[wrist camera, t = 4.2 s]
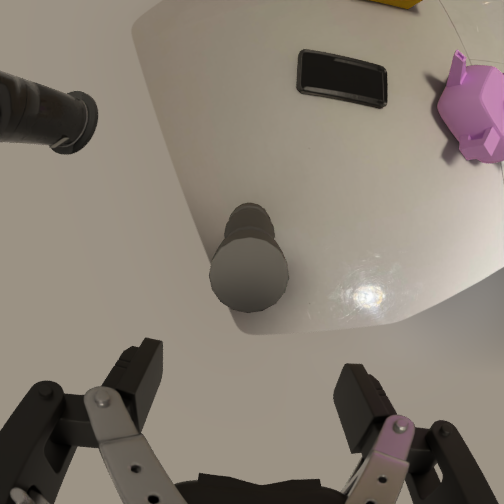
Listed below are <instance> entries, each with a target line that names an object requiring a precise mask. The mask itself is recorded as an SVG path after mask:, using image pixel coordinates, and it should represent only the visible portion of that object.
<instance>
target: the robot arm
mask: <svg viewBox="0 0 504 504" xmlns="http://www.w3.org/2000/svg"><path fill="white" fill-rule="evenodd" d="M88 120H89V111H88V107H87V105H86V103H85V102H84V101H83V100H82V99H80V98H77V97H73V96H71V95H68V94H65V93H63V92H60V91H57V90H55V89H52V88H49V87H46V86H44V85H41V84H38V83H35V82H32V81H28V80H26V79H23V78H20V77H17V76H14V75H11V74H8V73H5V72H2V71H0V142H10V143H28V144H42V145H51V147H50V148H55V147H57V146H58V147H69V146H71V145H73V144H75V143H76V142H77V141H78V140H79V139H80V138H81V137H82V135H83V134H84V132H85V130H86V128H87V125H88ZM162 372H163V342H162V341H160V340H155V339H150V338H145V339H144V340H143V342H142V344H141V345H140V347H134V346H132V347H130V348H128V349H127V350H125V351H124V352H123V353H122V354H121V356H120V358H119V360H118V361H117V362H116V364H115V366H114V367H113V368H112V370H111V371H110V373H109V375H108V376H107V378H106V379H105V381H104V383H103V384H102V386H100V387H94V388H92V389H90V390H88V391H87V392H86V394H85V395H74V394H64V392H63V389H62V387H61V386H60V385H59V384H57V383H55V382H52V381H41V382H38V383H36V384H34V385H33V386H32V387H31V389H30V390H29V391H28V393H27V394H26V395H25V397H24V398H23V400H22V401H21V402H20V404H19V405H18V406H17V408H16V409H15V411H14V412H13V414H12V415H11V416H10V418H9V419H8V421H7V422H6V423H5V425H4V427H3V428H2V429H1V431H0V504H54V502H55V499H56V497H57V494H58V492H59V489H60V487H61V484H62V482H63V479H64V477H65V474H66V472H67V469H68V467H69V465H70V462H71V460H72V458H73V455H74V453H75V451H76V448H77V446H80V447H91V448H99V451H100V453H101V456H102V458H103V461H104V463H105V465H106V468H107V470H108V472H109V475H110V477H111V479H112V481H113V483H114V485H115V488H116V490H117V492H118V494H119V496H120V498H121V500H122V502H123V504H395V503H396V501H397V498H398V496H399V493H400V491H401V488H402V485H403V483H404V480H405V481H406V484H407V486H408V490H409V492H410V495H411V498H412V501H413V504H498V502H497V500H496V498H495V496H494V494H493V492H492V490H491V488H490V486H489V485H488V482H487V481H486V479H485V477H484V475H483V473H482V471H481V470H480V468H479V466H478V464H477V462H476V461H475V459H474V457H473V455H472V454H471V452H470V451H469V448H468V447H467V445H466V444H465V442H464V440H463V438H462V437H461V435H460V433H459V432H458V430H457V429H456V427H455V426H454V425H453V424H451V423H450V422H447V421H443V420H439V421H436V422H434V424H433V425H432V426H431V428H430V429H425V428H416V427H415V426H414V423H413V422H412V421H411V420H410V419H409V418H407V417H405V416H402V415H397V413H396V411H395V409H394V408H393V406H392V404H391V403H390V400H389V399H388V397H387V396H386V393H385V392H384V390H383V388H382V386H381V385H380V383H379V381H378V380H377V379H376V378H374V377H373V376H372V375H370V374H368V373H367V372H366V370H365V368H364V366H363V365H362V364H348V363H347V364H345V365H344V367H343V369H342V372H341V374H340V377H339V379H338V382H337V384H336V387H335V390H334V394H333V396H334V397H333V399H334V404H335V406H336V409H337V412H338V415H339V418H340V421H341V424H342V427H343V430H344V432H345V436H346V439H347V442H348V445H349V448H350V451H351V453H352V454H353V453H362V458H361V459H360V461H359V462H358V464H357V466H356V468H355V469H354V471H353V473H352V475H351V476H350V478H349V480H348V482H347V483H346V485H345V487H344V488H343V489H342V491H341V492H339V491H337V490H334V489H331V488H327V487H322V486H321V484H320V479H307V480H288V481H283V482H278V483H273V484H267V485H257V484H253V483H250V482H246V481H242V480H239V479H235V478H232V477H226V476H217V475H210V474H203V473H199V477H198V480H193V481H186V482H180V483H176V484H173V482H172V481H171V479H170V478H169V476H168V475H167V473H166V472H165V470H164V468H163V467H162V465H161V464H160V462H159V460H158V459H157V457H156V455H155V454H154V452H153V450H152V449H151V447H150V445H149V443H148V442H147V440H146V438H145V437H144V435H143V434H142V433H141V431H142V429H143V426H144V423H145V421H146V418H147V415H148V413H149V410H150V408H151V405H152V403H153V400H154V397H155V395H156V392H157V389H158V387H159V385H160V382H161V378H162ZM437 463H438V465H439V467H440V469H441V471H442V474H443V479H442V482H440V480H439V478H438V475H437V473H436V471H435V469H434V466H435V465H436V464H437Z"/></svg>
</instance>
